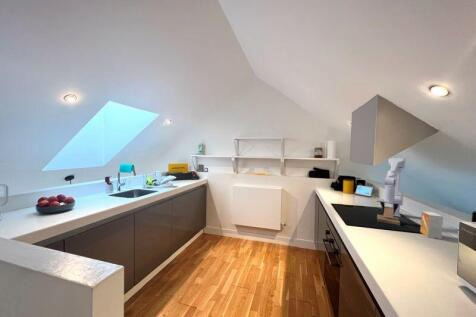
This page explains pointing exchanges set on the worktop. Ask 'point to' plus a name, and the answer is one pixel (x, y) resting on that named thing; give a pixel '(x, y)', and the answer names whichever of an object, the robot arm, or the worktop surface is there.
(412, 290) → the worktop surface
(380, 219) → the tan board
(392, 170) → the robot arm
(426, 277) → the worktop surface
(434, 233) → the small box
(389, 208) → the terracotta block
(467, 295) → the worktop surface
